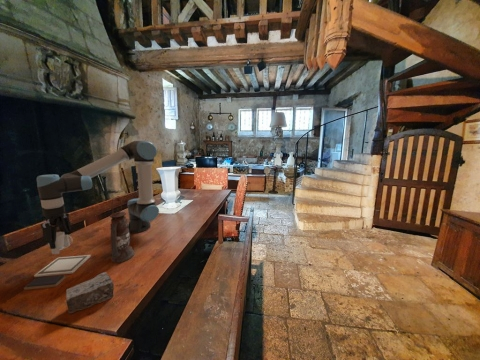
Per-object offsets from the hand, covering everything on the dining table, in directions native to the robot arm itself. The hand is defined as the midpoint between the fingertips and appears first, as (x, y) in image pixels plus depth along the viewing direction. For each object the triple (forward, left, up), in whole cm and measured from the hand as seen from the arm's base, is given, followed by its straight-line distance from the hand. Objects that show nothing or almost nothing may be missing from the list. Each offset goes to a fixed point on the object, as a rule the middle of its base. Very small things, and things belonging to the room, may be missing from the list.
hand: (61, 249), depth 91 cm
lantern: (-26, -4, -10) cm, 28 cm away
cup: (0, 0, 0) cm, 0 cm away
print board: (0, 0, -9) cm, 9 cm away
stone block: (-27, +25, -10) cm, 38 cm away
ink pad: (-1, +12, -9) cm, 16 cm away
